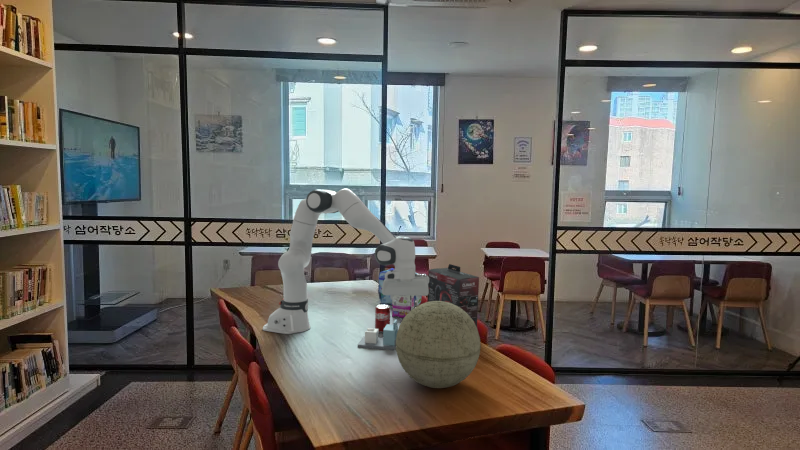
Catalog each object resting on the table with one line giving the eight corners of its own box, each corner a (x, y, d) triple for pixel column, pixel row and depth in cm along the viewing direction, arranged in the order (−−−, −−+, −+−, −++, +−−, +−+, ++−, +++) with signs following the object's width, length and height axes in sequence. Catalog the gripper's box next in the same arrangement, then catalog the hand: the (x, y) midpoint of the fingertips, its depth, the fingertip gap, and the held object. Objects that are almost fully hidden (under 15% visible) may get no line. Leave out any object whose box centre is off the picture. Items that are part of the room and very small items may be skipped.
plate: (357, 347, 200) (357, 335, 199) (363, 338, 211) (363, 327, 210) (393, 350, 197) (393, 338, 197) (398, 341, 208) (398, 330, 208)
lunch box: (375, 303, 272) (376, 268, 270) (385, 299, 281) (386, 265, 280) (413, 310, 259) (414, 273, 257) (422, 306, 268) (423, 271, 266)
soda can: (388, 333, 219) (388, 308, 217) (373, 332, 220) (373, 307, 219) (391, 328, 226) (391, 304, 225) (377, 327, 227) (377, 303, 226)
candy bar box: (414, 316, 247) (414, 286, 245) (410, 319, 242) (411, 288, 241) (395, 314, 251) (395, 284, 249) (391, 316, 246) (391, 286, 245)
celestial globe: (417, 411, 145) (419, 318, 142) (382, 374, 172) (383, 295, 170) (496, 395, 157) (499, 309, 154) (452, 362, 184) (454, 289, 182)
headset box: (478, 338, 213) (480, 268, 210) (457, 343, 207) (459, 271, 204) (445, 324, 234) (447, 260, 231) (425, 328, 227) (427, 262, 224)
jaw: (364, 342, 202) (365, 331, 202) (367, 338, 207) (367, 328, 207) (375, 343, 201) (376, 332, 201) (378, 339, 206) (378, 328, 206)
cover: (383, 344, 199) (383, 323, 198) (386, 338, 207) (387, 317, 206) (394, 345, 198) (394, 323, 198) (397, 339, 206) (397, 318, 206)
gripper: (429, 272, 201) (429, 303, 202) (383, 272, 203) (383, 302, 204) (429, 275, 194) (429, 307, 196) (381, 275, 196) (381, 306, 198)
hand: (405, 305), depth 200 cm, fingers open, 8 cm apart
